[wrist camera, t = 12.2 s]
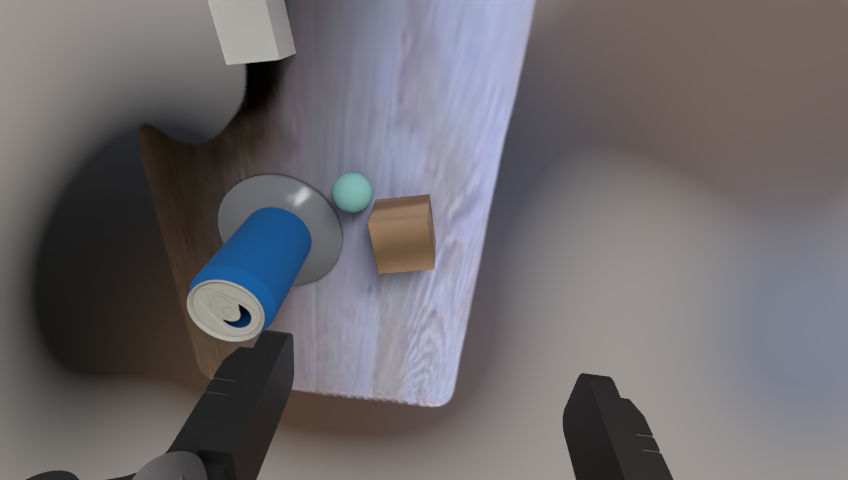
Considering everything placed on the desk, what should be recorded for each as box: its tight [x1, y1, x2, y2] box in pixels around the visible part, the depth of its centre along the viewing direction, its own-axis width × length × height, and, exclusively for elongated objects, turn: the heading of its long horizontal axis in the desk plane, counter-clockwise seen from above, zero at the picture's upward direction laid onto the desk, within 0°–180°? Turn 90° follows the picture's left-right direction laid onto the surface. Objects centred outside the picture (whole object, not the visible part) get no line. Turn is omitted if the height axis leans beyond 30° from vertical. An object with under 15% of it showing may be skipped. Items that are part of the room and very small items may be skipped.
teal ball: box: [332, 173, 372, 212], centre depth 38 cm, size 4×4×4 cm
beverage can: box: [187, 207, 312, 342], centre depth 37 cm, size 6×6×12 cm
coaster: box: [218, 174, 343, 285], centre depth 42 cm, size 12×12×1 cm
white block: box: [207, 0, 296, 65], centre depth 32 cm, size 6×4×4 cm, turn 6°
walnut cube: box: [368, 195, 436, 274], centre depth 39 cm, size 5×5×5 cm
